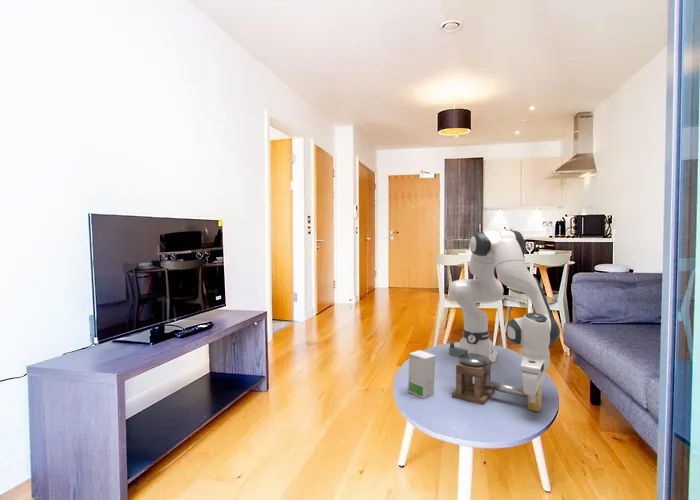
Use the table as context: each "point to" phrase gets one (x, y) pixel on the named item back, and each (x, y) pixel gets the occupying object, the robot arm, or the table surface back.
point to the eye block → (467, 387)
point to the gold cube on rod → (514, 392)
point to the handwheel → (468, 356)
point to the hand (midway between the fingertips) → (534, 398)
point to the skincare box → (421, 373)
